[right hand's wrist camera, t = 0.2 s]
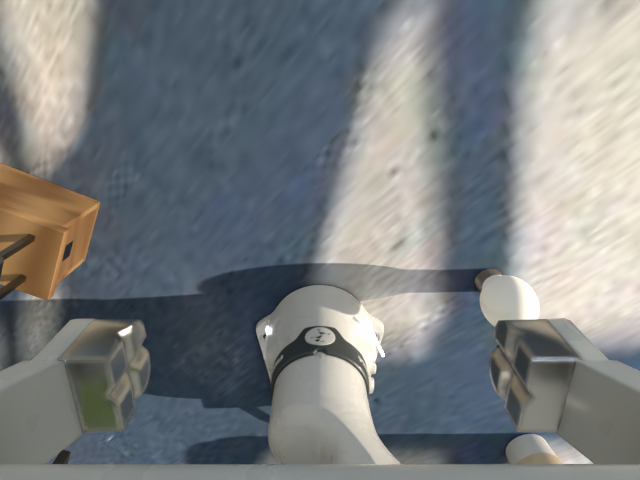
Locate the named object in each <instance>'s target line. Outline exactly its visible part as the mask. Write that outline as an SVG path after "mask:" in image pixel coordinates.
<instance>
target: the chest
mask: <svg viewBox="0 0 640 480" xmlns="http://www.w3.org/2000/svg"><path fill="white" fill-rule="evenodd" d="M0 203H2V204H5V205H7V206H10V207H13V208H15V209H18V210H21V211H23V212H26V213H29V214H31V215H34V216H36V217H39V218H42V219H44V220H47V221H50V222H52V223H55V224H58V225H60V226H63V227H66V228H68V229H70V230H69V235H68V239H67V243H66V247H65V251H64V255H63V259H62V263H61V267H60V271H59V275H58V279H57V283H56V285H57V284H58V283H59V282H60V281H61V280H63V279H64V278H65V277H66V276H67V275H68V274H70V273H71V272H72V271H73V270H74V269H75V268H77V267H78V266H79V265H80V264H81V263H82V262H84V261H85V258H86V254H87V250H88V247H89V243H90V239H91V235H92V232H93V228H94V224H95V220H96V217H97V213H98V209H99V205H100V202H99V201H97V200H94V199H92V198H89V197H87V196H84V195H81V194H79V193H76V192H74V191H71V190H69V189H66V188H63V187H61V186H58V185H56V184H53V183H51V182H48V181H46V180H43V179H40V178H38V177H35V176H33V175H30V174H28V173H25V172H22V171H20V170H17V169H15V168H12V167H10V166H7V165H5V164H2V163H0Z"/></svg>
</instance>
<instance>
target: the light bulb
mask: <svg viewBox="0 0 640 480" xmlns="http://www.w3.org/2000/svg"><path fill="white" fill-rule="evenodd" d="M475 286H476V287H477V289H478V290H479V292H480V293H481V294H480V306H481V309H482V312H483V314H484V316H485V317H486V319H487V320H488V321H489V322H490V323H491V324H492V325H493V326H496V324H497V322H498V320H529V319H538V316H539V312H540V308H539V301H538V298H537V296H536V294H535V292H534V291H533V289H532V288H531V287H530V286H529V285H528V284H527V283H526V282H524V281H523V280H521V279H519V278H516V277H513V276H507V275H503V274H502V273H501V272H500V271H498V270H495V269H487V270H484V271H482V272H480V273H479V274H478V275H477V276H476V278H475Z"/></svg>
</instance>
